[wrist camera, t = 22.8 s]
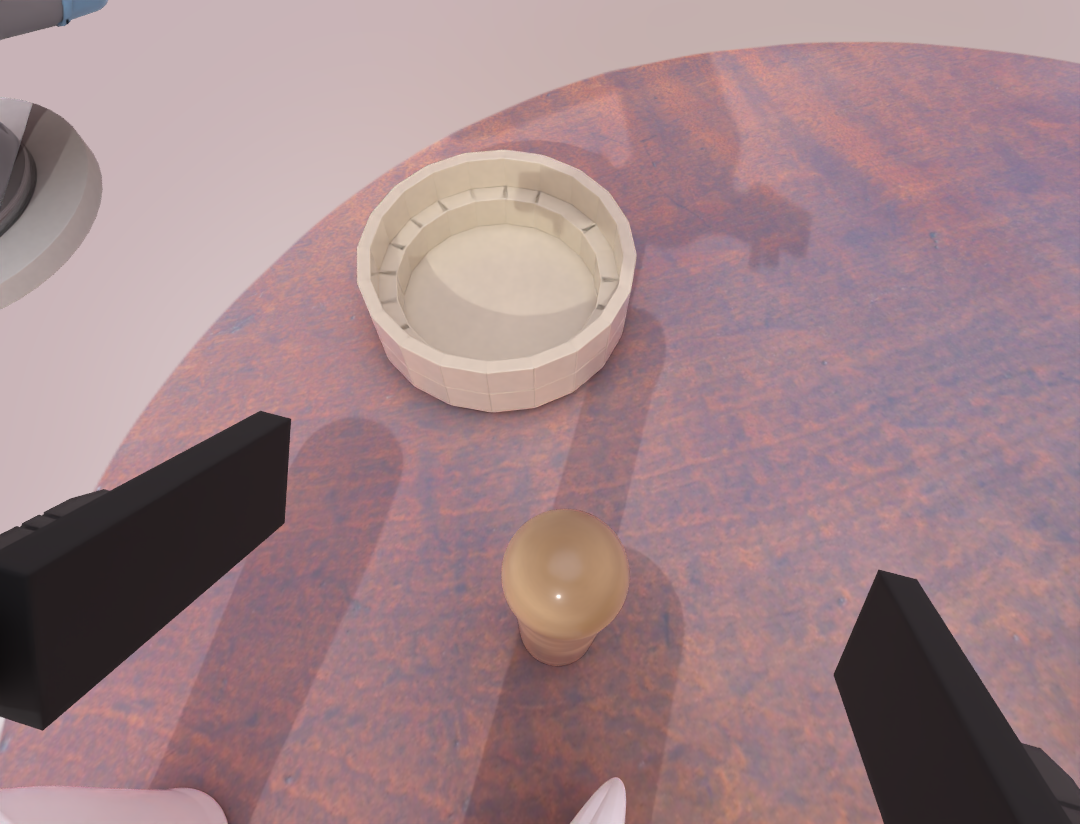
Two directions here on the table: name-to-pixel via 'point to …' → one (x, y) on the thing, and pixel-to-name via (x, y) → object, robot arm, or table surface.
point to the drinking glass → (107, 806)
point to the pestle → (564, 582)
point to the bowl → (497, 278)
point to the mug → (604, 805)
